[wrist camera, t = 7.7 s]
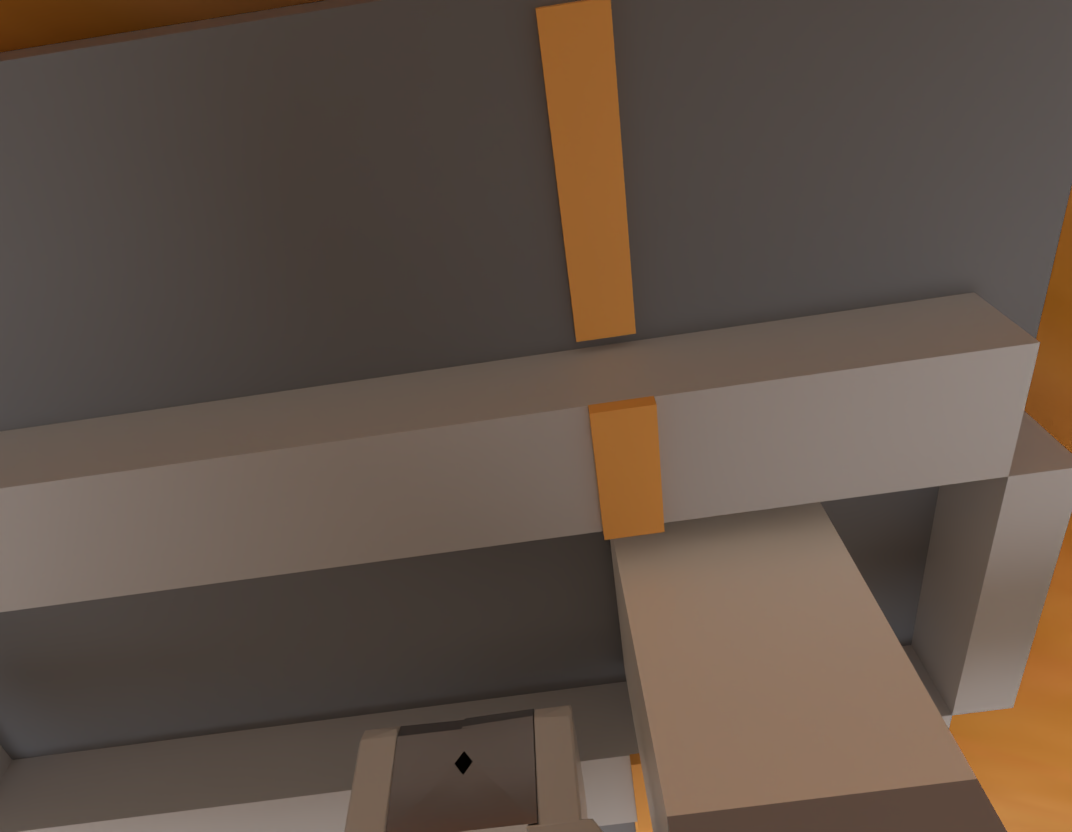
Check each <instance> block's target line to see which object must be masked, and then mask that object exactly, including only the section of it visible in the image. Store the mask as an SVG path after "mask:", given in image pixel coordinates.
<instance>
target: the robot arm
mask: <svg viewBox="0 0 1072 832" xmlns="http://www.w3.org/2000/svg"><path fill="white" fill-rule="evenodd" d="M344 832H603V831H602V830H601V829H600V827H599V826H598V825H597V823H596V822H595V821H594V820H593V818H592V819H588V815H587V806H586V796H585V789H584V782H583V775H582V768H581V761H580V755H579V749H578V743H577V737H576V731H575V725H574V719H573V713H572V708H571V705H564V706H557V707H550V708H543V709H536V710H534V709H527V710H520V711H513V712H506V713H499V714H492V715H485V716H478V717H471V718H465V720H456V721H446V722H437V723H427V724H418V725H408V726H397V727H389V728H380V729H372V730H365V732H364V734H363V736H362V738H361V741H360V743H359V748H358V754H357V760H356V766H355V772H354V778H353V784H352V790H351V795H350V801H349V807H348V813H347V819H346V825H345V831H344Z"/></svg>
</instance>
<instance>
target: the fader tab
mask: <svg viewBox="0 0 1072 832" xmlns="http://www.w3.org/2000/svg"><path fill="white" fill-rule="evenodd" d="M664 530H665V532H661V533H654V534H646V535H639V536H631V537H624V538H616V539H610V544H611V553H612V562H613V571H614V579H615V588H616V597H617V606H618V615H619V623H620V632H621V641H622V650H623V659H624V668H625V675H626V681H627V686H628V692H629V698H630V704H631V709H632V715H633V721H634V726H635V732H636V738H637V743H638V749H639V755H640V761H641V766H642V772H643V778H644V783H645V789H646V795H647V801H648V806H649V812H650V818H651V823H652V829H653V832H1007V831H1006V829H1005V827H1004V825H1003V824H1002V822H1001V820H1000V818H999V817H998V815H997V813H996V811H995V810H994V808H993V806H992V804H991V803H990V801H989V799H988V797H987V796H986V794H985V792H984V790H983V788H982V787H981V785H980V783H979V781H978V780H977V778H976V776H975V774H974V773H973V771H972V769H971V767H970V766H969V764H968V762H967V760H966V759H965V757H964V755H963V753H962V751H961V750H960V748H959V746H958V744H957V743H956V741H955V739H954V737H953V736H952V734H951V732H950V730H949V729H948V727H947V725H946V723H945V721H944V720H943V718H942V716H941V714H940V713H939V711H938V709H937V707H936V706H935V704H934V702H933V700H932V699H931V697H930V695H929V693H928V692H927V690H926V688H925V686H924V684H923V683H922V681H921V679H920V677H919V676H918V674H917V672H916V670H915V669H914V667H913V665H912V663H911V662H910V660H909V658H908V656H907V654H906V653H905V651H904V649H903V647H902V646H901V644H900V642H899V640H898V639H897V637H896V635H895V633H894V632H893V630H892V628H891V626H890V625H889V623H888V621H887V619H886V617H885V616H884V614H883V612H882V610H881V609H880V607H879V605H878V603H877V602H876V600H875V598H874V596H873V595H872V593H871V591H870V589H869V587H868V586H867V584H866V582H865V580H864V579H863V577H862V575H861V573H860V572H859V570H858V568H857V566H856V565H855V563H854V561H853V559H852V558H851V556H850V554H849V552H848V550H847V549H846V547H845V545H844V543H843V542H842V540H841V538H840V536H839V535H838V533H837V531H836V529H835V528H834V526H833V524H832V522H831V520H830V519H829V517H828V515H827V513H826V512H825V510H824V508H823V506H822V505H821V503H820V502H816V503H808V504H801V505H794V506H786V507H779V508H771V509H764V510H756V511H749V512H742V513H734V514H727V515H719V516H712V517H704V518H697V519H690V520H682V521H675V522H667V523H664Z"/></svg>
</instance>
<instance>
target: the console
mask: <svg viewBox="0 0 1072 832" xmlns="http://www.w3.org/2000/svg"><path fill="white" fill-rule="evenodd" d="M1071 185H1072V0H324V1H318V2H312V3H306V4H299V5H293V6H287V7H281V8H274V9H268V10H262V11H256V12H250V13H243V14H237V15H231V16H225V17H218V18H212V19H206V20H200V21H193V22H187V23H181V24H175V25H169V26H162V27H156V28H150V29H144V30H137V31H131V32H125V33H119V34H113V35H106V36H100V37H94V38H88V39H81V40H75V41H69V42H63V43H56V44H50V45H44V46H38V47H32V48H25V49H19V50H13V51H7V52H0V832H344V831H345V825H346V819H347V813H348V807H349V801H350V795H351V790H352V784H353V778H354V772H355V766H356V760H357V754H358V748H359V743H360V741H361V738H362V736H363V734H364V732H365V730H372V729H380V728H389V727H397V726H408V725H418V724H427V723H437V722H446V721H456V720H465V718H471V717H478V716H485V715H492V714H499V713H506V712H513V711H520V710H527V709H534V710H536V709H543V708H550V707H557V706H564V705H571V708H572V713H573V719H574V725H575V731H576V737H577V743H578V749H579V755H580V761H581V768H582V775H583V782H584V789H585V796H586V806H587V815H588V819H592V818H593V820H594V821H595V822H596V823H597V825H598V826H599V827H600V829H601V830H602V831H603V832H653V829H652V823H651V818H650V812H649V806H648V801H647V795H646V789H645V783H644V778H643V772H642V766H641V761H640V755H639V749H638V743H637V738H636V732H635V726H634V721H633V715H632V709H631V704H630V698H629V692H628V686H627V681H626V675H625V668H624V659H623V650H622V641H621V632H620V623H619V615H618V606H617V597H616V588H615V579H614V571H613V562H612V553H611V544H610V539H616V538H624V537H631V536H639V535H646V534H654V533H661V532H665V530H664V523H667V522H675V521H682V520H690V519H697V518H704V517H712V516H719V515H727V514H734V513H742V512H749V511H756V510H764V509H771V508H779V507H786V506H794V505H801V504H808V503H816V502H820V503H821V505H822V506H823V508H824V510H825V512H826V513H827V515H828V517H829V519H830V520H831V522H832V524H833V526H834V528H835V529H836V531H837V533H838V535H839V536H840V538H841V540H842V542H843V543H844V545H845V547H846V549H847V550H848V552H849V554H850V556H851V558H852V559H853V561H854V563H855V565H856V566H857V568H858V570H859V572H860V573H861V575H862V577H863V579H864V580H865V582H866V584H867V586H868V587H869V589H870V591H871V593H872V595H873V596H874V598H875V600H876V602H877V603H878V605H879V607H880V609H881V610H882V612H883V614H884V616H885V617H886V619H887V621H888V623H889V625H890V626H891V628H892V630H893V632H894V633H895V635H896V637H897V639H898V640H899V642H900V644H901V646H902V647H903V649H904V651H905V653H906V654H907V656H908V658H909V660H910V662H911V663H912V665H913V667H914V669H915V670H916V672H917V674H918V676H919V677H920V679H921V681H922V683H923V684H924V686H925V688H926V690H927V692H928V693H929V695H930V697H931V699H932V700H933V702H934V704H935V706H936V707H937V709H938V711H939V713H940V714H941V716H942V718H943V720H944V721H945V723H946V725H947V727H948V729H949V727H950V722H951V718H952V715H959V714H967V713H975V712H983V711H991V710H999V709H1007V708H1013V706H1014V703H1015V699H1016V696H1017V693H1018V689H1019V686H1020V682H1021V679H1022V676H1023V672H1024V669H1025V666H1026V662H1027V659H1028V656H1029V652H1030V649H1031V646H1032V642H1033V639H1034V636H1035V632H1036V629H1037V626H1038V622H1039V619H1040V616H1041V612H1042V609H1043V606H1044V602H1045V599H1046V596H1047V592H1048V589H1049V586H1050V582H1051V579H1052V576H1053V572H1054V569H1055V566H1056V562H1057V559H1058V556H1059V552H1060V549H1061V546H1062V542H1063V539H1064V536H1065V532H1066V529H1067V526H1068V522H1069V519H1070V515H1071V512H1072V454H1071V453H1070V452H1069V451H1068V450H1067V449H1066V448H1065V447H1064V446H1063V445H1061V444H1060V443H1059V442H1058V441H1057V440H1056V439H1055V438H1054V437H1053V436H1052V435H1050V434H1049V433H1048V432H1047V431H1046V430H1045V429H1044V428H1043V427H1042V426H1041V425H1039V424H1038V423H1037V422H1036V421H1035V420H1034V419H1033V418H1032V417H1031V416H1030V415H1028V414H1027V413H1026V412H1025V411H1024V409H1025V405H1026V400H1027V396H1028V392H1029V388H1030V383H1031V379H1032V375H1033V371H1034V366H1035V362H1036V358H1037V354H1038V350H1039V345H1040V342H1039V341H1038V340H1036V336H1037V332H1038V328H1039V323H1040V319H1041V315H1042V310H1043V306H1044V302H1045V297H1046V293H1047V289H1048V284H1049V280H1050V276H1051V272H1052V267H1053V263H1054V259H1055V254H1056V250H1057V246H1058V241H1059V237H1060V233H1061V228H1062V224H1063V220H1064V216H1065V211H1066V207H1067V203H1068V198H1069V194H1070V190H1071Z"/></svg>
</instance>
